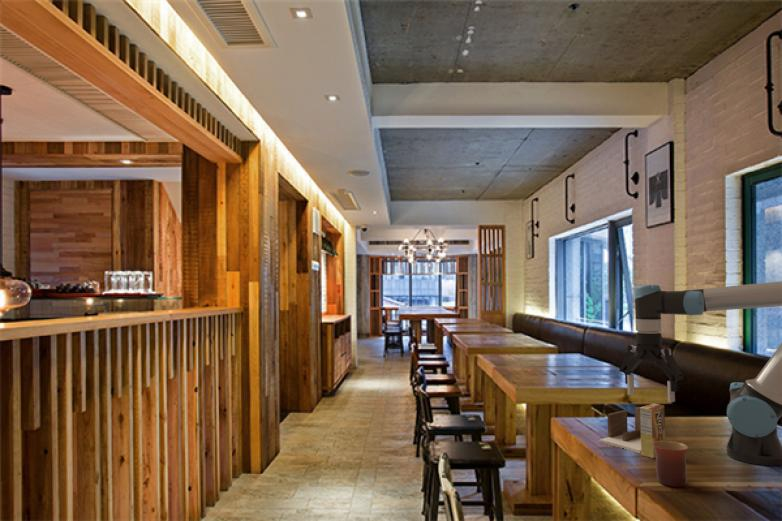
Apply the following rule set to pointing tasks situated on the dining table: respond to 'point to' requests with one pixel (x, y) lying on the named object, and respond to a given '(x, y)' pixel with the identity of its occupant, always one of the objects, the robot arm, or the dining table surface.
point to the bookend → (637, 431)
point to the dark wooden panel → (617, 423)
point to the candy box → (651, 428)
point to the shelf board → (623, 443)
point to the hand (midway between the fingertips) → (650, 398)
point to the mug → (671, 463)
